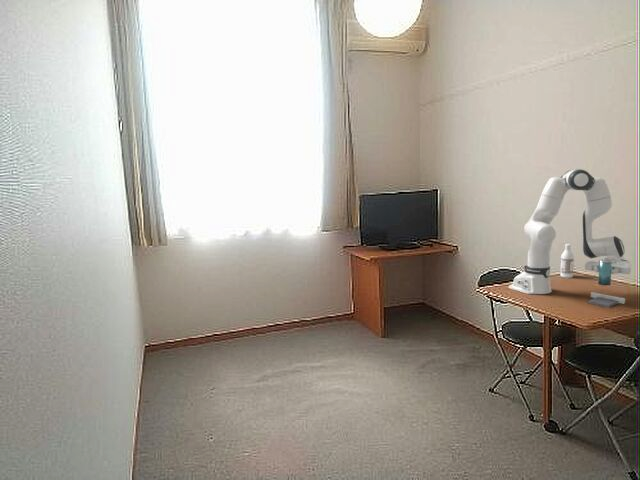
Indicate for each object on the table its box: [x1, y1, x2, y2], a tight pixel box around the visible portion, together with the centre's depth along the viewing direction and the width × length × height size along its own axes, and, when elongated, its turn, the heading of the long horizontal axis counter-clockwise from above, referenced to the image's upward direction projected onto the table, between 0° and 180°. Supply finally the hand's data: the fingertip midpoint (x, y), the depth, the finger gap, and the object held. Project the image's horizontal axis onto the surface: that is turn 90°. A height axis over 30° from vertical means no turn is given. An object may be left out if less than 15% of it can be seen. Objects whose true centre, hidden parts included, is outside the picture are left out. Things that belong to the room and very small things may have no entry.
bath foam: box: [560, 243, 575, 279], centre depth 297 cm, size 7×7×20 cm
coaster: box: [587, 297, 619, 308], centre depth 246 cm, size 10×10×1 cm
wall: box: [590, 291, 626, 305], centre depth 250 cm, size 16×1×2 cm, turn 35°
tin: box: [597, 258, 612, 286], centre depth 243 cm, size 6×6×12 cm
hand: (604, 270), depth 242 cm, fingers closed on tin, 5 cm apart
